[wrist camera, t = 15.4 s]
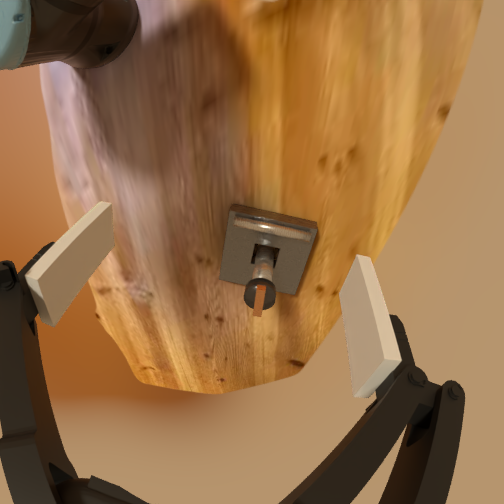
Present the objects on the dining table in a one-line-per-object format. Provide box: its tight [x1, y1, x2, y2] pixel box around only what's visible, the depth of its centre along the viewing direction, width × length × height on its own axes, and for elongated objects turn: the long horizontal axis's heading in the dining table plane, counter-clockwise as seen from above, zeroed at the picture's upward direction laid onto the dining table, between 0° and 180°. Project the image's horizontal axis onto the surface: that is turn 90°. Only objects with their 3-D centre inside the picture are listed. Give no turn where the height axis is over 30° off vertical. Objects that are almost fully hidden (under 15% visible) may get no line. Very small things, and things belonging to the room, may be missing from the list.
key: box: [244, 244, 276, 317], centre depth 47 cm, size 5×4×14 cm
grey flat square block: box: [219, 204, 318, 295], centre depth 51 cm, size 14×14×4 cm
